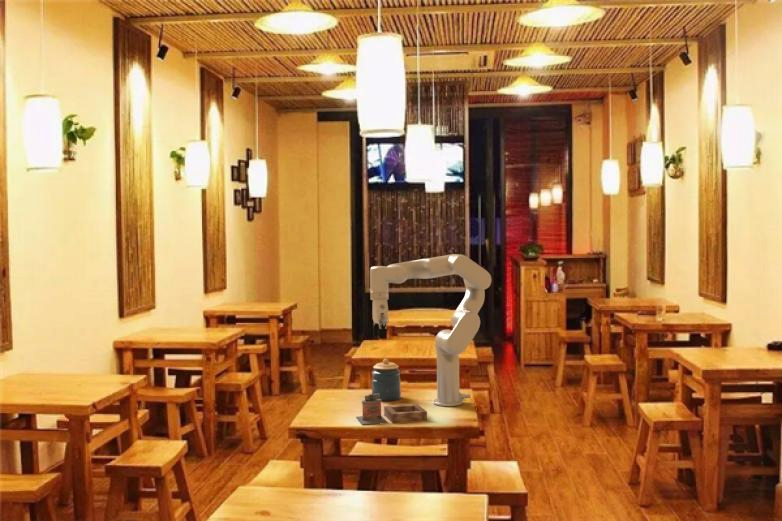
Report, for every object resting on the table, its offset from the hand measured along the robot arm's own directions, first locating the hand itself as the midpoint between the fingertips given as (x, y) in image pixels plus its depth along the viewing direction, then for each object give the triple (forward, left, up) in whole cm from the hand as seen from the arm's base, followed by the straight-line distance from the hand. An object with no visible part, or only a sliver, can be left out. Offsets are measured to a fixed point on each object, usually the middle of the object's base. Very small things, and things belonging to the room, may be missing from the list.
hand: (380, 337), depth 345 cm
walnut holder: (-6, +17, -30) cm, 35 cm away
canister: (-7, -20, -31) cm, 37 cm away
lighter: (+8, +18, -30) cm, 36 cm away
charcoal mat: (+8, +18, -30) cm, 36 cm away
